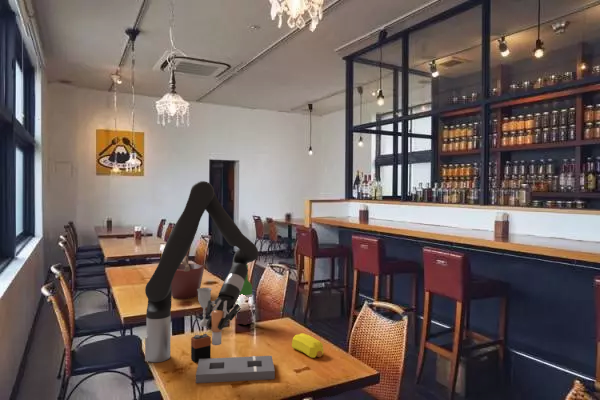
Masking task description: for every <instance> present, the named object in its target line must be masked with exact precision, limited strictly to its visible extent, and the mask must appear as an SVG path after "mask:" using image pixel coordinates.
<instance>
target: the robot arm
mask: <svg viewBox="0 0 600 400" xmlns="http://www.w3.org/2000/svg"><path fill="white" fill-rule="evenodd" d="M205 211H206V212H207V213H208V215H209V216H210V218H211V219H212V221H213V222H214V224H215V226H216V227H217V229H218V231H219V232H220V234H221V235H222V236H223V238H224V240H225V241H226V242H227V243H228V245H229V246H231V247H237V248H238V249H237V250H236V251H235V252H234V255H233V259H232V263H231V267H230V269H229V272H228V274H227V276H226V278H225V279H224V281H223V284H222V285H221V287H220V290H219V292H218V295H217V298H216V299H215V300H212V301H211V299H210V300H209V301H208V305H207V307H206V312H205V314H206V316H208V319H207V326H206V327H208V329H211V325H212V311H214V310H221V311H223V318H221V320H220V322H219V325H218V329H219V330H222V331H223V330H224V328H225V325H226V323H227V321H232V320H234V318H235V317H237V313H238V312H239V310H240V309H241V308H240V306H239V305H238V304H237V299H238V297H239V294H240V292H241V290H242V287H243V284H244V281H245V279H246V276H247V274H248V273H249V267H248V268H247V267H246V265H248V264H249V263H252V262H254V261H256V260H257V259H258V258H259V250H258V247H257V246H256V244H254V242H252V241H251V240H250V239H249V238H248V237H247V236H245V235H244V234H243V232H242V231H241V229H240V228H239V227H238V225H237V224H236V222H234V220H233V219H232V218H231V216H230V215H229V214H228V213H227V211H226V210H225V209H224V206H222V204H221V203H220V200H219V199H218V197H217V194H216V193H215V189H214V187H213V185H212V184H211V183H210V182H208V181H205V180H200V181H196V182H195V183H194V184H193V185H192V186H191V188H190V193H189V195H188V198H187V202H186V204H185V207H184V209H183V211H182V213H181V215H180V216H179V217H178V219H177V220H176V223H175V224H174V227H173V228H172V229H171V232H170V234H169V236H168V238H167V241H166V243H165V245H164V249H163V250H162V253H161V256H160V260H159V262H158V264H157V266H156V268H155V271H154V272H153V274H152V275H151V277H150V279H149V280H148V282H147V283H146V285H145V288H144V294H145V295H146V298H147V307H146V334H145V335H146V336H145V337H144V350H145V351H144V362H149V363H161V362H166V361H168V360H169V359H170V358H171V317H172V316H171V314H172V313H171V310H172V298H173V297H172V285H171V283H172V280H173V277H174V275H175V272H176V270H177V269H178V267H179V266H180V264H182V261H183V259H184V258H185V256H187V254H188V252H189V250H190V248H191V246H192V244H193V242H194V239H195V237H196V235H197V231H198V229H199V224H200V221H201V220H202V217H203V214H204V213H205Z"/></svg>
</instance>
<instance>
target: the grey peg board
mask: <svg viewBox="0 0 600 400" xmlns="http://www.w3.org/2000/svg"><path fill="white" fill-rule="evenodd" d="M275 372H276V371H275V366H274V361H273V356H272V355H260V356H259V355H257V356H256V355H252V356H236V357H235V356H234V357H215V358H214V357H213V358H212V357H211V358H208V359H199V362H197V367H196V373H195V383H196V384H205V383H222V382H223V383H224V382H242V381H246V382H247V381H262V380H275V379H276V377H275V376H276V375H275Z"/></svg>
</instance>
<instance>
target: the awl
mask: <svg viewBox="0 0 600 400" xmlns="http://www.w3.org/2000/svg"><path fill="white" fill-rule="evenodd" d="M221 318H223V311H221V310H214V311H212V325H211V328H210V331H211V345H213V346H220V345H222V331H223V329H222V330H219V329H218V325H219V322H220V320H221Z"/></svg>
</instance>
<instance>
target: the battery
mask: <svg viewBox="0 0 600 400" xmlns="http://www.w3.org/2000/svg"><path fill="white" fill-rule="evenodd" d="M190 340H191V343H190V352H191V353H190V359H191V361H193V362H194V363H199V359H208V358H212V357H211V351H212V350H211V349H212V348H211V345H212V336H210V335H208V333H203V334H201V335H200V334H195V335H194V336H192V337H191V339H190Z"/></svg>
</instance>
